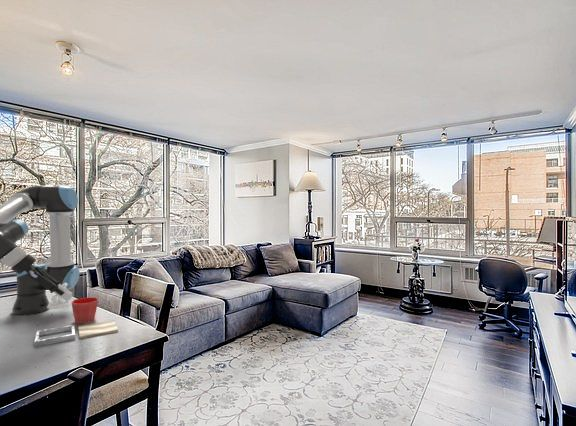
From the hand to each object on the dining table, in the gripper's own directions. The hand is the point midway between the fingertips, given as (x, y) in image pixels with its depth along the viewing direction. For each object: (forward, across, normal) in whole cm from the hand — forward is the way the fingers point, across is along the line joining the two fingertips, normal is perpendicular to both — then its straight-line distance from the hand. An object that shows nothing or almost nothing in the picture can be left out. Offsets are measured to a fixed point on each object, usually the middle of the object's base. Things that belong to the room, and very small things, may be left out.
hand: (69, 297), depth 134 cm
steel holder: (+8, 0, -15) cm, 17 cm away
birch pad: (+19, 0, -4) cm, 19 cm away
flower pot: (+16, -18, -7) cm, 25 cm away
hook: (0, -1, -5) cm, 5 cm away
